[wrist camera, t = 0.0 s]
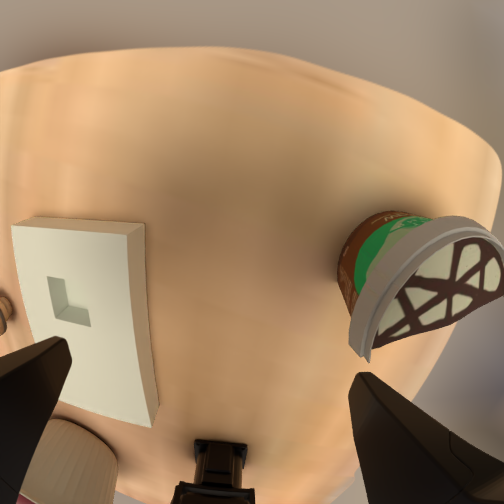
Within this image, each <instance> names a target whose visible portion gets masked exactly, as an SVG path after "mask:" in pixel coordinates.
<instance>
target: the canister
mask: <svg viewBox="0 0 504 504" xmlns="http://www.w3.org/2000/svg"><path fill="white" fill-rule="evenodd" d="M117 474H118V465H117V460H116V457H115V455H114V453H113V452H112V451H111V449H109V447H108V446H107V445H105V443H104V442H102V441H101V440H100V439H99V438H97V437H96V436H95V435H93V434H92V433H91V432H89V431H87V430H86V429H84V428H82V427H80V426H78V425H76V424H74V423H71V422H69V421H66V420H61V419H51V420H49V421H48V423H47V425H46V427H45V429H44V432H43V434H42V436H41V438H40V441H39V443H38V445H37V448H36V450H35V453H34V455H33V458H32V460H31V463H30V465H29V468H28V470H27V473H26V476H25V478H24V481H23V484H22V487H21V490H20V493H19V496H18V499H17V502H16V504H113V499H114V493H115V487H116V480H117Z"/></svg>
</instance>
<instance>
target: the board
mask: <svg viewBox="0 0 504 504" xmlns="http://www.w3.org/2000/svg"><path fill="white" fill-rule="evenodd" d="M11 231H12V240H13V248H14V255H15V261H16V267H17V273H18V278H19V283H20V288H21V293H22V297H23V302H24V306H25V310H26V313H27V317H28V321H29V324H30V328H31V331H32V334H33V338H34V341H35V343H38V342H40V341H43V340H45V339H48V338H50V337H53V336H59V337H62V338H65V339H66V340H67V342H68V346H69V350H70V353H71V356H72V365H71V368H70V371H69V373H68V376H67V378H66V381H65V383H64V386H63V389H62V391H61V394H60V397H59V399H58V400H60V401H62V402H65V403H68V404H70V405H73V406H76V407H79V408H82V409H85V410H88V411H91V412H94V413H97V414H100V415H103V416H107V417H110V418H114V419H117V420H121V421H125V422H129V423H133V424H137V425H141V426H145V427H150V428H152V426H153V423H154V420H155V417H156V414H157V411H158V408H159V400H158V394H157V387H156V381H155V374H154V366H153V358H152V350H151V341H150V330H149V319H148V306H147V291H146V269H145V224H144V223H130V222H116V221H101V220H86V219H69V218H52V217H32V218H29V219H27V220H24V221H21V222H19V223H16V224H13V225H11Z"/></svg>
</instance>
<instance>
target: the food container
mask: <svg viewBox="0 0 504 504" xmlns="http://www.w3.org/2000/svg"><path fill="white" fill-rule="evenodd" d="M337 277H338V284H339V287H340V290H341V292H342V295H343V297H344V300H345V303H346V305H347V308H348V311H349V314H350V316H351V322H350V328H349V345H350V346H351V348H352V349H353V350H354V351H355V352H356V353H357V354H358V356H359V357H363V356H364V357H365V359H366V360H367V362H368V363H370V357H371V349H375V348H380V347H382V346H384V345H386V344H388V343H391V342H394V341H397V340H400V339H403V338H406V337H409V336H412V335H416V334H420V333H424V332H427V331H431V330H435V329H439V328H442V327H445V326H448V325H451V324H453V323H454V322H456V321H458V320H460V319H462V318H463V317H465V316H466V315H467V314H469V313H471V312H472V311H474V310H476V309H477V308H479V307H481V306H483V305H485V304H487V303H489V302H491V301H493V300H495V299H497V298H499V297H501V296H503V297H504V248H503V246H502V244H501V243H500V242H499V240H498V239H497V238H496V237H495V236H494V235H493V234H492V233H490V232H489V231H488V230H487V229H485V228H484V227H483V226H482V225H480V224H479V223H477V222H476V221H474V220H472V219H469V218H466V217H462V216H446V217H439V218H437V219H434V220H433V219H429V218H425V217H421V216H417V215H413V214H409V213H405V212H398V211H386V212H381V213H378V214H375V215H373V216H371V217H369V218H368V219H366V220H365V221H364V222H362V223H361V224H360V225H359V226H358V227H357V228H356V229H355V230H354V231H353V232H352V234H351V235H350V236H349V238H348V239H347V241H346V243H345V245H344V247H343V250H342V252H341V255H340V259H339V263H338V271H337Z"/></svg>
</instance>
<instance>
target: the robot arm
mask: <svg viewBox="0 0 504 504" xmlns="http://www.w3.org/2000/svg"><path fill="white" fill-rule="evenodd" d="M71 365H72V356H71V353H70V350H69V346H68V342H67V340H66V339H65V338H62V337H59V336H53V337H50V338H48V339H45V340H43V341H40V342H38V343H35V344H33V345H30V346H27V347H25V348H22V349H20V350H17V351H15V352H12V353H10V354H7V355H5V356H2V357H0V504H16V502H17V499H18V496H19V493H20V490H21V487H22V484H23V481H24V478H25V476H26V473H27V470H28V468H29V465H30V463H31V460H32V458H33V455H34V453H35V450H36V448H37V445H38V443H39V441H40V438H41V436H42V434H43V432H44V429H45V427H46V425H47V423H48V421H49V419H50V416H51V414H52V412H53V410H54V408H55V406H56V404H57V402H58V399H59V397H60V394H61V391H62V389H63V386H64V383H65V381H66V378H67V376H68V373H69V371H70V368H71ZM348 400H349V407H350V414H351V421H352V429H353V437H354V442H355V446H356V450H357V454H358V458H359V463H360V467H361V471H362V475H363V480H364V484H365V488H366V493H367V498H368V502H369V504H504V462H502V461H500V460H498V459H496V458H494V457H492V456H490V455H489V454H487V453H485V452H483V451H481V450H480V449H478V448H476V447H475V446H473V445H471V444H469V443H468V442H467V441H465V440H463V439H462V438H460V437H459V436H458V435H456V434H455V433H453V432H452V431H449V429H448V428H446V427H445V426H443V425H442V424H441V423H439V422H438V421H436V420H435V419H433V418H432V417H431V416H429V415H428V414H427V413H425V412H424V411H422V410H421V409H420V408H418V407H417V406H416V405H414V404H413V403H412V402H410V401H409V400H407V399H406V398H405V397H403V396H402V395H401V394H399V393H398V392H397V391H395V390H394V389H393V388H391V387H390V386H388V385H387V384H386V383H384V382H383V381H382V380H380V379H379V378H378V377H376V376H375V375H374V374H372V373H371V372H359V373H357V374H356V376H355V378H354V380H353V383H352V385H351V388H350V390H349V394H348ZM194 450H195V460H196V470H195V476H194V483H193V484H192V483H186V482H183V481H180V483H179V485H177V486H176V487H175V492H174V496H173V499H172V501H171V503H170V504H255V490H254V488H250V489H242V469H244V465H245V460H246V454H247V445H244V444H230V443H219V442H210V441H202V440H195V441H194Z"/></svg>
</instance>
